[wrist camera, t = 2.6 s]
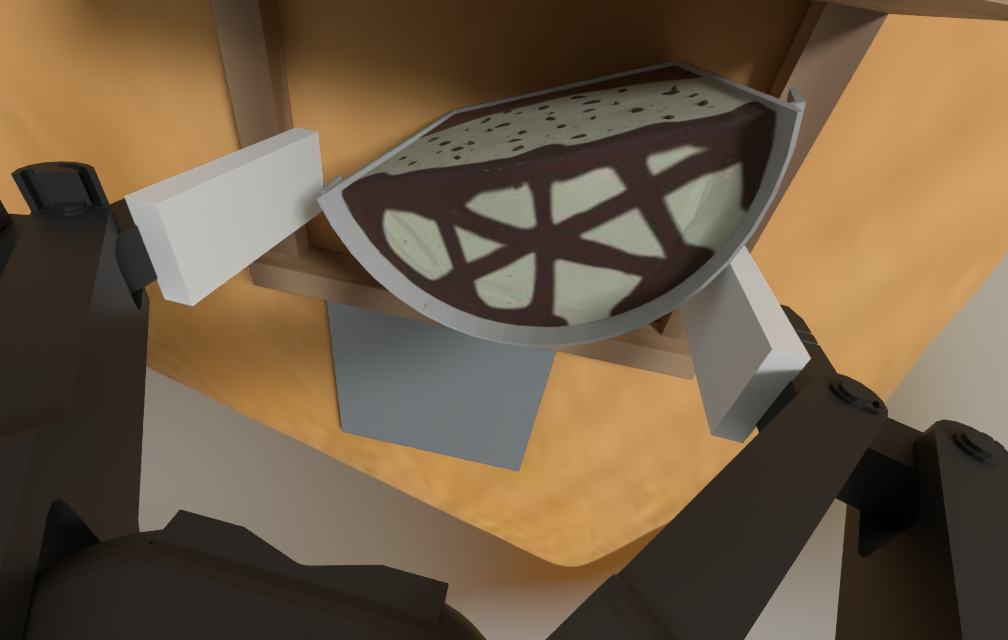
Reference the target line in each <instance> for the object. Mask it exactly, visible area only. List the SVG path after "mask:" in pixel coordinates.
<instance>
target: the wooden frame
mask: <svg viewBox="0 0 1008 640" xmlns="http://www.w3.org/2000/svg"><path fill="white" fill-rule="evenodd" d="M210 1H211V6H212V11H213V16H214V20H215V25H216V30H217V35H218V39H219V44H220V49H221V54H222V58H223V63H224V68H225V73H226V77H227V82H228V87H229V92H230V96H231V101H232V106H233V111H234V115H235V120H236V125H237V130H238V134H239V139H240V144H241V149H243V148H246V147H248V146H251V145H253V144H256V143H258V142H261V141H263V140H266V139H268V138H271V137H273V136H276V135H278V134H281V133H283V132H286V131H288V130H291V129H293V122H292V114H291V107H290V100H289V92H288V85H287V77H286V70H285V63H284V55H283V48H282V40H281V33H280V26H279V18H278V11H277V3H276V0H210ZM808 1H812V3H811V6H810V8H809V10H808V12H807V14H806V16H805V18H804V20H803V22H802V24H801V26H800V28H799V30H798V33H797V35H796V37H795V39H794V41H793V43H792V45H791V47H790V49H789V51H788V53H787V55H786V57H785V60H784V62H783V64H782V66H781V68H780V70H779V72H778V74H777V76H776V78H775V80H774V82H773V84H772V87H771V89H770V91H769V93H768V95H770V96H773V97H775V98H778V99H780V100H783V101H785V102H787V97H788V93H789V88H794V87H798V89H799V90H800V92H801V94H802V96H803V97H804V99H805V101H806V104H805V108H804V112H803V117H802V121H801V125H800V129H799V133H798V137H797V141H796V145H795V149H794V151H793V154H792V157H791V159H790V162H789V164H788V167H787V169H786V172H785V174H784V177H783V179H782V181H781V184H780V186H779V189H778V191H777V194H776V196H775V198H774V200H773V201H772V203H771V205H770V207H769V208H768V210H767V212H766V213H765V215H764V217H763V219H762V220H761V222H760V224H759V225H758V227H757V229H756V231H755V232H754V234H753V235H752V236H751V237H750V239H749V240H748V241H747V243H746V244H745V246H746V248H747V250H748V252H749V253H751V251H752V249H753V248H754V246H755V244H756V242H757V241H758V239H759V237H760V236H761V234H762V232H763V230H764V229H765V227H766V225H767V223H768V222H769V220H770V218H771V216H772V215H773V213H774V211H775V210H776V208H777V206H778V204H779V203H780V201H781V199H782V197H783V196H784V194H785V192H786V190H787V189H788V187H789V185H790V184H791V182H792V180H793V178H794V177H795V175H796V173H797V171H798V170H799V168H800V166H801V164H802V163H803V161H804V159H805V158H806V156H807V154H808V152H809V151H810V149H811V147H812V145H813V144H814V142H815V140H816V138H817V137H818V135H819V133H820V132H821V130H822V128H823V126H824V125H825V123H826V121H827V119H828V118H829V116H830V114H831V112H832V111H833V109H834V107H835V106H836V104H837V102H838V100H839V99H840V97H841V95H842V93H843V92H844V90H845V88H846V86H847V85H848V83H849V81H850V80H851V78H852V76H853V74H854V73H855V71H856V69H857V67H858V66H859V64H860V62H861V60H862V59H863V57H864V55H865V54H866V52H867V50H868V48H869V47H870V45H871V43H872V41H873V40H874V38H875V36H876V34H877V33H878V31H879V29H880V28H881V26H882V24H883V22H884V21H885V19H886V17H887V15H888V14H900V15H917V16H934V17H951V18H968V19H985V20H1002V21H1008V0H808ZM249 267H250V271H251V275H252V280H253V284H254V285H257V286H262V287H267V288H271V289H276V290H280V291H285V292H290V293H294V294H299V295H303V296H308V297H313V298H317V299H322V300H326V301H331V302H335V303H340V304H345V305H349V306H354V307H358V308H363V309H368V310H372V311H377V312H381V313H386V314H391V315H395V316H400V317H404V318H409V319H413V320H418V321H423V322H427V323H432V324H436V325H441V326H445V325H443V324H441V323H439V322H437V321H435V320H433V319H431V318H429V317H427V316H425V315H423V314H421V313H420V312H418V311H417V310H415V309H414V308H412V307H411V306H409V305H408V304H406V303H405V302H403V301H402V300H400V299H399V298H397V297H396V296H395V295H394V294H392V293H391V292H390V291H389V290H388V289H387V288H385V287H384V286H383V285H382V284H381V283H380V282H378V281H377V280H376V279H375V278H374V277H373V276H372V275H371V274H370V273H369V272H368V271H367V270H366V269H365V268H364V267H363V266H362V264H361V263H360V262H359V261H358V260H357V259H356V258H355V257H354V256H350V255H345V254H341V253H336V252H331V251H327V250H322V249H317V248H313V247H309V240H308V233H307V225H306V223H305V224H304V225H303V226H301V227H300V228H298V229H297V230H296V231H294V232H293V233H292V234H290V235H289V236H288V237H286V238H285V239H283V240H282V241H281V242H279V243H278V244H277V245H275V246H274V247H273V248H271V249H270V250H269V251H267V252H266V253H264V254H263V255H262V256H260V257H259V258H258V259H256V260H255V261H254V262H252V263H251V264H249ZM542 348H547V349H551V350H556V351H560V352H565V353H570V354H574V355H579V356H583V357H588V358H592V359H597V360H602V361H606V362H611V363H615V364H620V365H625V366H629V367H634V368H638V369H643V370H648V371H652V372H657V373H661V374H666V375H670V376H675V377H680V378H684V379H689V380H692V378H693V376H694V375H695V369H694V365H693V361H692V357H691V353H690V349H689V345H688V341H687V337H686V333H685V329H684V325H683V321H682V317H681V313H680V309H679V307H678V308H676V309H675V310H673V311H671V312H669V313H668V314H666V315H664V316H662V317H660V319H659V321H658V322H656V321H653V322H651V323H649V324H647V325H645V326H643V327H640V328H637V329H635V330H632V331H630V332H627V333H624V334H622V335H619V336H617V337H612V338H608V339H604V340H600V341H596V342H592V343H588V344H581V345H572V346H564V347H542Z"/></svg>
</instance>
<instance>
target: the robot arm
mask: <svg viewBox="0 0 1008 640" xmlns="http://www.w3.org/2000/svg"><path fill="white" fill-rule="evenodd" d="M11 175H12V177H13V178H14V180H15V182H16V184H17V186H18V188H19V189H20V191H21V193H22V195H23V197H24V199H25V201H26V202H27V204H28V206H29V208H30V210H31V214H30V215H20V214H8V213H7V211H6V209H5V207H4V206H3V204H2V202H1V200H0V640H486V638H484V636H483V635H482V634H481V633H480V632H479V630H478V629H477V628H476V627H475V626H474V625H473V624H472V623H471V622H470V621H469V620H468V619H467V618H465V617H464V616H463V615H462V614H461V613H460V612H458V611H457V610H455V609H454V608H452V607H451V606H449V605H448V604H446V603H445V600H446V595H447V590H448V583H445V582H441V581H437V580H434V579H430V578H427V577H423V576H420V575H416V574H412V573H409V572H405V571H402V570H398V569H394V568H391V567H387V566H383V565H331V566H329V565H328V566H327V565H326V566H307V565H301V564H299V563H297V562H295V561H293V560H292V559H291V558H289V557H288V556H286V555H285V554H283V553H282V552H280V551H279V550H277V549H276V548H274V547H273V546H271V545H270V544H268V543H267V542H265V541H264V540H262V539H261V538H259V537H258V536H257V535H255V534H253V533H252V532H251V531H249V530H248V529H246V528H245V527H242V526H238V525H234V524H231V523H227V522H224V521H220V520H217V519H213V518H209V517H206V516H202V515H198V514H194V513H191V512H187V511H184V510H179V511H178V512H177V514H176V515H175V516H174V517H173V518H172V520H171V521H170V522H169V523H168V525H167V526H166V527H165V528H164V529H163V530H155V531H147V532H140V531H139V523H138V513H139V494H140V474H141V453H142V434H143V416H144V396H145V377H146V358H147V338H148V319H149V297H148V295H147V293H146V290H145V288H144V287H145V286H147V285H148V284H150V283H151V282H153V281H155V280H156V279H157V281H158V284H159V286H160V289H161V291H162V294H163V296H164V299H166V300H170V301H174V302H178V303H182V304H186V305H190V306H194V305H195V304H196V303H198V302H199V301H200V300H202V299H203V298H204V297H206V296H207V295H209V294H210V293H211V292H213V291H214V290H215V289H217V288H218V287H219V286H221V285H222V284H224V283H225V282H226V281H228V280H229V279H230V278H232V277H233V276H234V275H236V274H237V273H239V272H240V271H241V270H243V269H244V268H245V267H247V266H248V265H249V264H251V263H252V262H254V261H255V260H256V259H258V258H259V257H260V256H262V255H263V254H264V253H266V252H267V251H269V250H270V249H271V248H273V247H274V246H275V245H277V244H278V243H279V242H281V241H282V240H283V239H285V238H286V237H288V236H289V235H290V234H292V233H293V232H294V231H296V230H297V229H298V228H300V227H301V226H303V225H304V224H305V223H307V222H308V221H309V220H311V219H312V218H313V217H315V216H316V215H318V214H319V213H320V212H322V211H323V210H322V209H321V207H320V205H319V203H318V201H317V200H316V198H317V197H318V196H320V195H321V192H320V191H321V190H322V189H323V188H324V186H323V176H322V166H321V156H320V146H319V136H318V132H316V131H312V130H307V129H303V128H298V127H296V128H293V129H291V130H288V131H286V132H283V133H281V134H278V135H276V136H273V137H271V138H268V139H266V140H263V141H261V142H258V143H256V144H253V145H251V146H248V147H246V148H243V149H241V150H238V151H236V152H233V153H231V154H228V155H226V156H223V157H221V158H218V159H216V160H213V161H211V162H208V163H206V164H203V165H201V166H198V167H196V168H193V169H191V170H188V171H186V172H183V173H181V174H178V175H176V176H173V177H171V178H168V179H166V180H163V181H161V182H158V183H156V184H153V185H151V186H148V187H146V188H143V189H141V190H138V191H136V192H133V193H131V194H128V195H126V196H124V197H125V198H124V199H122V200H119V201H117V202H115V203H112V204H110V205H109V202H108V200H107V198H106V195H105V193H104V191H103V188H102V186H101V183H100V181H99V179H98V176H97V174H96V172H95V169H94V167H92V166H90V165H87V164H83V163H78V162H61V161H59V162H45V163H39V164H33V165H28V166H25V167H22V168H19V169H17V170H15V171H14V172H13V173H11ZM679 309H680V313H681V317H682V321H683V325H684V329H685V333H686V337H687V341H688V345H689V349H690V353H691V357H692V361H693V365H694V369H695V373H696V377H697V381H698V385H699V389H700V393H701V397H702V401H703V405H704V409H705V413H706V417H707V421H708V425H709V429H710V433H711V435H713V436H717V437H721V438H725V439H729V440H733V441H737V442H741V443H744V441H745V440H746V439H747V438H748V436H749V435H750V434H751V433H752V431H753V430H754V429H755V428H756V426H757V429H758V431H759V434H758V435H757V436H756V437H755V438H754V439H753V440H752V441H751V442H750V443H749V444H748V445H747V446H746V447H745V448H744V449H743V450H742V451H741V452H740V453H739V454H738V455H737V456H736V457H735V458H734V459H733V460H732V461H731V462H730V463H729V464H728V465H727V466H726V467H725V468H724V469H723V470H722V471H721V472H720V473H719V474H718V475H717V476H716V477H715V478H714V479H713V480H712V481H711V482H710V483H709V484H708V485H707V486H706V487H705V488H704V489H703V490H702V491H701V492H700V493H699V494H698V495H697V496H696V497H695V498H694V499H693V500H692V501H691V502H690V503H689V504H688V505H687V506H686V507H685V508H684V509H683V510H682V511H681V512H680V513H679V514H678V515H677V516H676V517H675V518H674V519H673V520H672V521H671V522H670V523H669V524H668V525H667V526H666V527H665V528H664V529H663V530H662V531H661V532H660V533H659V534H658V535H657V536H656V537H655V538H654V539H653V540H652V541H651V542H650V543H649V544H648V545H647V546H646V547H645V548H644V549H643V550H642V551H641V552H640V553H639V554H638V555H636V556H635V558H634V559H632V560H631V561H630V563H628V565H626V567H624V568H623V569H622V570H621V572H619V573H618V574H616V575H615V574H614V575H612V576H611V577H610V578H609V579H607V580H606V581H605V582H604V583H603V584H602V585H601V586H600V587H599V588H598V589H597V590H596V591H595V592H594V593H593V594H592V595H590V596H589V598H588V599H587V600H586V601H584V602H583V603H582V604H581V605H580V606H579V607H578V608H577V609H576V610H575V611H574V612H573V613H572V614H571V615H570V616H569V617H568V618H567V619H566V620H565V621H564V622H563V623H562V624H561V625H560V626H559V627H558V628H557V629H556V630H555V631H554V632H553V633H552V634H551V635H550V636H549V637H548V638H547V639H546V640H744V639H745V637H746V636H747V634H748V632H749V631H750V629H751V628H752V626H753V625H754V623H755V621H756V620H757V618H758V617H759V615H760V614H761V612H762V611H763V609H764V607H765V606H766V605H767V603H768V601H769V600H770V598H771V597H772V595H773V594H774V592H775V590H776V589H777V588H778V586H779V584H780V583H781V581H782V580H783V578H784V577H785V575H786V574H787V572H788V571H789V569H790V567H791V566H792V564H793V563H794V561H795V560H796V558H797V557H798V555H799V554H800V552H801V550H802V549H803V547H804V546H805V544H806V543H807V541H808V539H809V538H810V536H811V535H812V533H813V531H814V530H815V529H816V527H817V526H818V524H819V522H820V521H821V519H822V518H823V516H824V515H825V513H826V512H827V510H828V509H829V507H830V505H831V504H832V502H833V501H834V499H835V498H836V499H838V500H841V501H843V502H844V503H846V504H847V509H846V520H845V533H844V543H843V556H842V567H841V579H840V590H839V602H838V614H837V625H836V637H835V640H1008V451H1006V450H1005V449H1004V446H1003V445H1001V444H1000V443H999V442H997V441H994V440H993V438H992V437H990V436H989V435H987V434H985V433H983V432H979V431H977V430H976V429H974V428H972V427H969V426H967V425H964V424H961V423H959V422H956V421H950V420H941V421H937V422H935V423H934V424H933V425H932V426H931V427H930V428H928V429H927V430H926V431H925V432H920V431H918V430H916V429H913V428H911V427H909V426H907V425H904V424H902V423H900V422H897V421H895V420H893V419H890V418H888V417H887V416H888V410H887V408H886V406H885V404H884V402H883V401H882V400H881V399H880V398H879V397H878V396H877V395H876V394H875V393H874V392H873V391H872V390H870V389H869V388H867V387H866V386H864V385H863V384H862V383H860V382H858V381H856V380H854V379H852V378H850V377H848V376H845V375H841V374H838V373H837V372H836V371H835V369H834V368H833V366H832V364H831V363H830V361H829V360H828V358H827V356H826V355H825V353H824V352H823V350H822V349H821V347H820V345H817V343H818V342H817V341H816V339H815V338H814V336H813V335H812V334H811V331H810V330H809V328H808V326H807V325H806V323H805V322H804V320H803V319H802V318H801V317H800V316H799V315H797V314H796V313H795V312H794V311H793V310H792V309H791V308H789V307H788V306H784V305H780V304H779V303H778V301H777V299H776V298H775V296H774V294H773V293H772V291H771V289H770V287H769V286H768V284H767V282H766V281H765V279H764V277H763V275H762V274H761V272H760V270H759V269H758V267H757V265H756V263H755V262H754V260H753V258H752V257H751V255H750V253H749V252H748V250H747V248H746V246H745V245H744V246H743V248H742V249H741V250H740V251H739V253H738V254H737V255H736V256H735V258H734V259H733V260H732V261H731V263H730V264H729V265H728V266H727V267H726V268H725V269H724V270H723V271H722V272H720V273H719V274H718V275H717V276H716V277H715V278H714V279H713V280H712V281H711V282H710V283H709V284H708V285H707V286H706V287H705V288H704V289H703V290H701V291H700V292H698V293H697V294H696V295H694V296H693V297H692V298H690V299H689V300H687V301H686V302H685V303H683V304H682V305H681V306H679Z"/></svg>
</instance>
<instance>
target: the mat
mask: <svg viewBox="0 0 1008 640" xmlns="http://www.w3.org/2000/svg"><path fill="white" fill-rule="evenodd" d="M327 307H328V316H329V324H330V333H331V341H332V350H333V358H334V367H335V375H336V384H337V392H338V401H339V409H340V418H341V426H342V432H345V433H349V434H354V435H358V436H363V437H367V438H372V439H376V440H381V441H385V442H389V443H394V444H398V445H403V446H407V447H412V448H416V449H421V450H425V451H430V452H434V453H439V454H443V455H447V456H452V457H456V458H461V459H465V460H470V461H474V462H479V463H483V464H488V465H492V466H496V467H501V468H505V469H510V470H514V471H519V469H520V466H521V463H522V460H523V456H524V453H525V450H526V447H527V444H528V440H529V437H530V434H531V431H532V428H533V424H534V421H535V418H536V415H537V412H538V408H539V405H540V402H541V399H542V396H543V392H544V389H545V386H546V383H547V380H548V377H549V373H550V370H551V367H552V364H553V361H554V357H555V354H556V350H551V349H547V348H542V347H525V346H517V345H509V344H501V343H497V342H493V341H489V340H485V339H481V338H477V337H473V336H470V335H468V334H465V333H462V332H460V331H457V330H454V329H452V328H449V327H446V326H441V325H436V324H432V323H427V322H423V321H418V320H413V319H409V318H404V317H400V316H395V315H391V314H386V313H381V312H377V311H372V310H368V309H363V308H358V307H354V306H349V305H345V304H340V303H335V302H331V301H327Z"/></svg>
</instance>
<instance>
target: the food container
mask: <svg viewBox="0 0 1008 640" xmlns="http://www.w3.org/2000/svg"><path fill="white" fill-rule="evenodd" d="M805 104H806V101H805V99H804V97H803V96H802V94H801V92H800V90H799V89H798V87H794V88H789V93H788V97H787V102H785V101H783V100H780V99H778V98H775V97H773V96H770V95H768V94H765V93H763V92H760V91H758V90H755V89H753V88H750V87H748V86H745V85H743V84H740V83H738V82H735V81H733V80H730V79H728V78H725V77H723V76H720V75H718V74H715V73H713V72H710V71H708V70H705V69H703V68H700V67H698V66H695V65H693V64H690V63H688V62H685V61H683V60H680V59H678V60H674V61H669V62H665V63H660V64H656V65H651V66H647V67H642V68H638V69H633V70H629V71H624V72H620V73H615V74H611V75H606V76H602V77H598V78H593V79H589V80H584V81H580V82H575V83H571V84H566V85H562V86H557V87H553V88H548V89H544V90H539V91H535V92H530V93H526V94H521V95H517V96H513V97H508V98H504V99H499V100H495V101H490V102H486V103H481V104H477V105H472V106H468V107H463V108H459V109H454V110H452V111H450V112H448V113H447V114H445V115H444V116H442V117H441V118H439V119H438V120H436V121H434V122H433V123H431V124H430V125H428V126H427V127H425V128H423V129H422V130H420V131H419V132H417V133H416V134H414V135H413V136H411V137H409V138H408V139H406V140H405V141H403V142H402V143H400V144H398V145H397V146H395V147H394V148H392V149H391V150H389V151H388V152H386V153H384V154H383V155H381V156H380V157H378V158H377V159H375V160H373V161H372V162H370V163H369V164H367V165H366V166H364V167H363V168H361V169H359V170H358V171H356V172H355V173H353V174H352V175H350V176H348V177H347V178H345V179H344V180H343V178H342V176H341V175H339V176H335V177H334V178H333V179H332V180H331V181H330V182H329V183H328V184H327V185H326V186H325V187H324V188H323V189H322V190H321V191H320V192H321V195H320V196H318V197H317V198H316V200H317V201H318V203H319V205H320V207H321V209H322V210H323V212H324V214H325V216H326V217H327V219H328V221H329V223H330V224H331V226H332V228H333V229H334V230H335V232H336V233H337V235H338V236H339V237H340V239H341V240H342V241H343V243H344V244H345V246H346V247H347V248H348V250H349V251H350V252H351V254H352V255H353V256H354V257H355V258H356V259H357V260H358V261H359V262H360V263H361V264H362V266H363V267H364V268H365V269H366V270H367V271H368V272H369V273H370V274H371V275H372V276H373V277H374V278H375V279H376V280H377V281H378V282H380V283H381V284H382V285H383V286H384V287H385V288H387V289H388V290H389V291H390V292H391V293H392V294H394V295H395V296H396V297H397V298H399V299H400V300H402V301H403V302H405V303H406V304H408V305H409V306H411V307H412V308H414V309H415V310H417V311H418V312H420V313H421V314H423V315H425V316H427V317H429V318H431V319H433V320H435V321H437V322H439V323H441V324H443V325H445V326H446V327H449V328H452V329H454V330H457V331H460V332H462V333H465V334H468V335H470V336H473V337H477V338H481V339H485V340H489V341H493V342H497V343H501V344H509V345H517V346H525V347H564V346H572V345H581V344H588V343H592V342H596V341H600V340H604V339H608V338H612V337H617V336H619V335H622V334H624V333H627V332H630V331H632V330H635V329H637V328H640V327H643V326H645V325H647V324H649V323H651V322H653V321H655V320H657V319H658V318H660V317H662V316H664V315H666V314H668V313H669V312H671V311H673V310H675V309H676V308H678V307H679V306H681V305H682V304H683V303H685V302H686V301H687V300H689V299H690V298H692V297H693V296H694V295H696V294H697V293H698V292H700V291H701V290H703V289H704V288H705V287H706V286H707V285H708V284H709V283H710V282H711V281H712V280H713V279H714V278H715V277H716V276H717V275H718V274H719V273H720V272H722V271H723V270H724V269H725V268H726V267H727V266H728V265H729V264H730V263H731V261H732V260H733V259H734V258H735V256H736V255H737V254H738V253H739V251H740V250H741V249H742V248H743V246H744V245H745V244H746V243H747V241H748V240H749V239H750V237H751V236H752V235H753V234H754V232H755V231H756V229H757V227H758V225H759V224H760V222H761V220H762V219H763V217H764V215H765V213H766V212H767V210H768V208H769V207H770V205H771V203H772V201H773V200H774V198H775V196H776V194H777V191H778V189H779V186H780V184H781V181H782V179H783V177H784V174H785V172H786V169H787V167H788V164H789V162H790V159H791V157H792V154H793V151H794V149H795V145H796V141H797V137H798V133H799V129H800V125H801V121H802V117H803V112H804V108H805Z"/></svg>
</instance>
